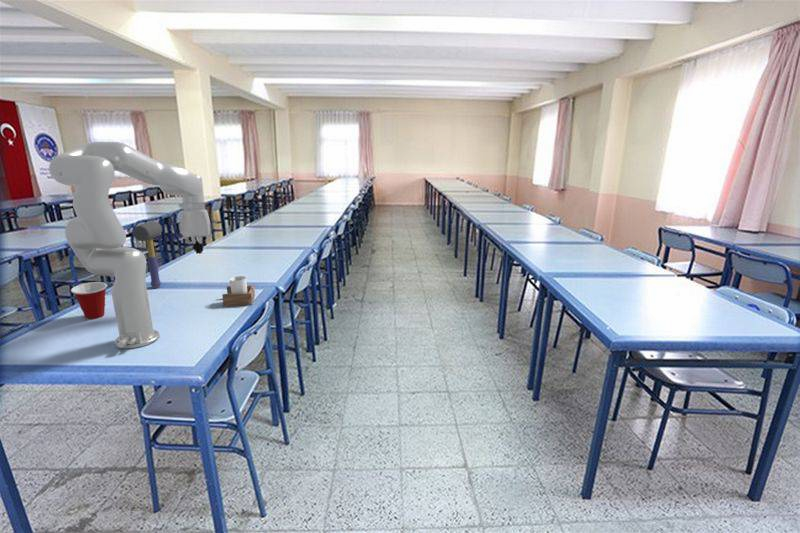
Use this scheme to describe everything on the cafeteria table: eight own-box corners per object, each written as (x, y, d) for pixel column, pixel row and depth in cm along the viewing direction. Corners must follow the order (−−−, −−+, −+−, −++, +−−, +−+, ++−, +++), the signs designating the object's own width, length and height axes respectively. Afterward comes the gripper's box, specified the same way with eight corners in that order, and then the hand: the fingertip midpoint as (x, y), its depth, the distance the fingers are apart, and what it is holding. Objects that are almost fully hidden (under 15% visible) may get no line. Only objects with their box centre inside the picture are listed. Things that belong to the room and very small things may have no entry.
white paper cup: (245, 297, 178) (242, 275, 175) (251, 301, 173) (249, 278, 171) (229, 300, 174) (226, 278, 171) (235, 304, 169) (232, 281, 166)
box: (252, 304, 170) (251, 293, 168) (223, 306, 167) (222, 294, 166) (255, 295, 180) (254, 284, 179) (228, 297, 178) (227, 286, 176)
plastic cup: (75, 324, 148) (69, 293, 145) (78, 314, 156) (71, 284, 153) (112, 318, 154) (106, 288, 150) (112, 309, 162) (107, 280, 159)
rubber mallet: (157, 291, 183) (147, 225, 175) (140, 292, 182) (129, 225, 174) (171, 283, 195) (162, 220, 186) (155, 283, 194) (145, 220, 186)
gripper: (170, 208, 155) (176, 255, 159) (212, 207, 158) (217, 254, 163) (176, 205, 162) (181, 251, 167) (216, 205, 165) (221, 250, 170)
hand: (199, 252), depth 165 cm, fingers closed
